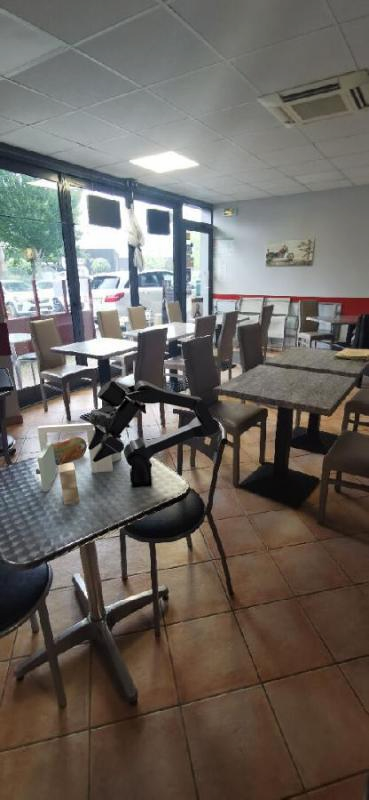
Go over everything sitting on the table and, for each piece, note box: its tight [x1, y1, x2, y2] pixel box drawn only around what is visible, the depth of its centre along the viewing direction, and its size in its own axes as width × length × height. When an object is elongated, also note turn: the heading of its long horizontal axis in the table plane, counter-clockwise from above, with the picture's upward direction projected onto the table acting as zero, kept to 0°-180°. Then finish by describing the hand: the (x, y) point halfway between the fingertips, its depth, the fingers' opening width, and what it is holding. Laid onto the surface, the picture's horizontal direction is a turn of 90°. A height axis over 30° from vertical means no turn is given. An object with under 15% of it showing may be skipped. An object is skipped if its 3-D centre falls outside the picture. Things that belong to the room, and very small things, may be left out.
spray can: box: [97, 405, 122, 463], centre depth 146 cm, size 7×7×20 cm
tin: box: [52, 436, 88, 467], centre depth 148 cm, size 15×3×8 cm, turn 132°
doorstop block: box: [57, 461, 80, 505], centre depth 123 cm, size 4×5×11 cm
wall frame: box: [37, 422, 114, 474], centre depth 137 cm, size 23×2×18 cm, turn 93°
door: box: [35, 441, 58, 492], centre depth 132 cm, size 12×3×12 cm, turn 3°
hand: (91, 455), depth 123 cm, fingers open, 9 cm apart
